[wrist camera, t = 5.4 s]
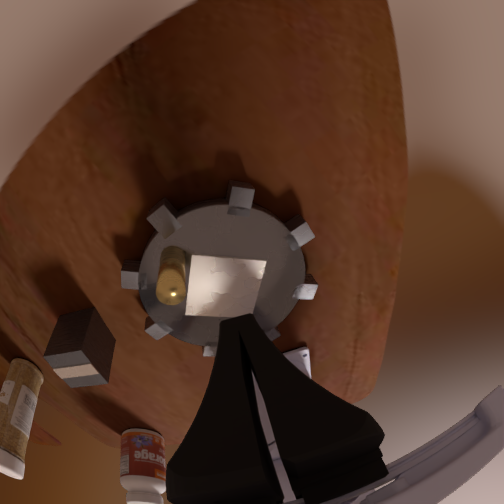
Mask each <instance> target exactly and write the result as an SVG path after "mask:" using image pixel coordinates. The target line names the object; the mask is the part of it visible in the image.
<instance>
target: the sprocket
mask: <svg viewBox="0 0 504 504" xmlns="http://www.w3.org/2000/svg"><path fill="white" fill-rule="evenodd" d="M254 192H255V189H254V188H253V186H252V185H251V184H250V183H246V182H239V181H232V180H229V183H228V188H227V193H226V198H220V199H210V200H205V201H200V202H197V203H194V204H191V205H188V206H186V207H184V208H182V209H180V210H178V211H177V210H176V209H175V208H174V207H173V205H172V204H171V203H170V202H169V201H168V200H167V198H166V197H165V198H164V199H162V200H161V201H160V202H159V203H157V204H156V205H155V206H154V207H152V208H151V209H150V210H149V212H148V215H147V218H146V219H147V220H148V221H149V222H150V223H151V224H152V225H153V227H154V228H155V229H156V230H155V231H154V233H153V234H152V236H151V237H150V239H149V240H148V242H147V245H146V247H145V249H144V252H143V256H142V260H141V261H133V260H124V263H123V266H122V269H121V285H122V288H127V289H138V290H139V293H140V297H141V301H142V303H143V305H144V308H145V310H146V311H147V313H148V314H149V316H148V317H147V318H146V322H145V331H146V332H147V333H148V334H149V335H151V336H152V337H153V338H155V339H156V340H158V339H160V338H162V337H163V336H165V335H166V334H170V335H172V336H173V337H175V338H177V339H180V340H182V341H185V342H188V343H191V344H195V345H200V346H202V351H203V356H216V351H217V346H218V339H219V323H220V322H221V321H222V320H226V319H230V318H234V317H237V316H241V315H245V314H248V313H252V314H254V317H255V319H256V321H257V322H258V324H259V326H260V327H261V329H262V330H263V331H264V333H265V334H266V335H267V337H268V338H269V339H270V340H271V341H273V340H274V339H276V338H278V337H279V336H281V334H280V332H279V329H278V327H277V325H278V324H279V323H280V322H282V321H283V320H284V319H285V318H286V316H287V315H288V314H289V313H290V312H291V310H292V309H293V308H294V306H295V304H296V303H297V301H298V299H313V297H314V295H315V292H316V289H317V287H318V284H317V282H316V281H315V279H314V278H313V276H312V275H311V274H305V262H304V256H303V254H302V251H301V248H300V247H301V246H302V245H304V244H305V243H307V242H308V241H310V240H311V239H313V238H314V237H315V236H314V234H313V233H312V231H311V229H310V228H309V226H308V224H307V223H306V221H305V220H304V219H303V218H302V217H301V216H300V215H299V214H297V215H296V216H294V217H293V218H291V219H290V220H288V221H287V222H285V223H283V222H282V221H281V220H280V219H279V218H278V217H277V216H276V215H274V214H273V213H271V212H270V211H269V210H267V209H265V208H263V207H261V206H259V205H257V204H254V203H252V201H253V196H254Z"/></svg>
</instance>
